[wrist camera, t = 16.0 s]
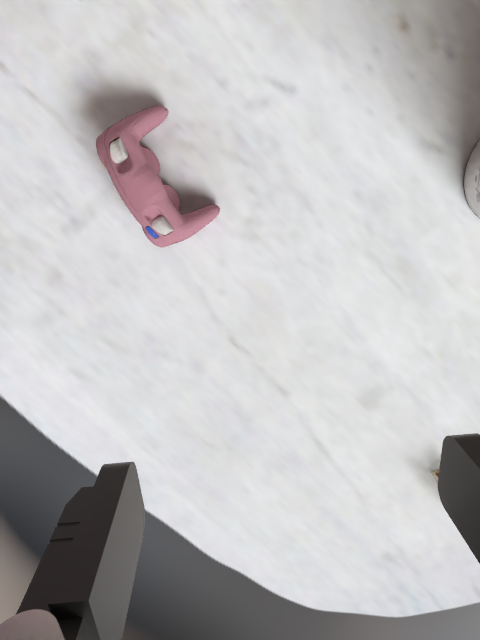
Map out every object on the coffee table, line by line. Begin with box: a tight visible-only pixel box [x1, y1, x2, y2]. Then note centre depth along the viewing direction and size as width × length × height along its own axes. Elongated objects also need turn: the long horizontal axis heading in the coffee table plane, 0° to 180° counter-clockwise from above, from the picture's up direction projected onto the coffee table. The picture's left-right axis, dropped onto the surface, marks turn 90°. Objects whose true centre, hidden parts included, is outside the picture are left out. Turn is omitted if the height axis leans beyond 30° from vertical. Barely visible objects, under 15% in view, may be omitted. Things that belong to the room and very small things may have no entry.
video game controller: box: [96, 106, 220, 247], centre depth 32 cm, size 10×5×7 cm, turn 28°
